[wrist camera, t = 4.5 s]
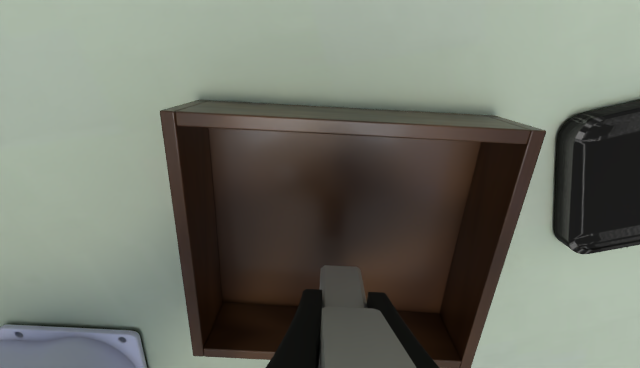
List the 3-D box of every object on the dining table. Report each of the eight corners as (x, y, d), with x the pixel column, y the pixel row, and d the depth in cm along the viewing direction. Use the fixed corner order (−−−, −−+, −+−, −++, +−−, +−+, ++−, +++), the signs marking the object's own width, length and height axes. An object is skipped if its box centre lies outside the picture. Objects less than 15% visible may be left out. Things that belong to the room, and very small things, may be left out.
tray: (216, 304, 20) (192, 356, 17) (197, 99, 16) (158, 110, 12) (444, 315, 20) (470, 370, 17) (495, 115, 16) (547, 130, 12)
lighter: (352, 339, 15) (383, 622, 7) (316, 337, 15) (309, 619, 7) (368, 204, 12) (440, 422, 5) (324, 202, 12) (326, 417, 5)
